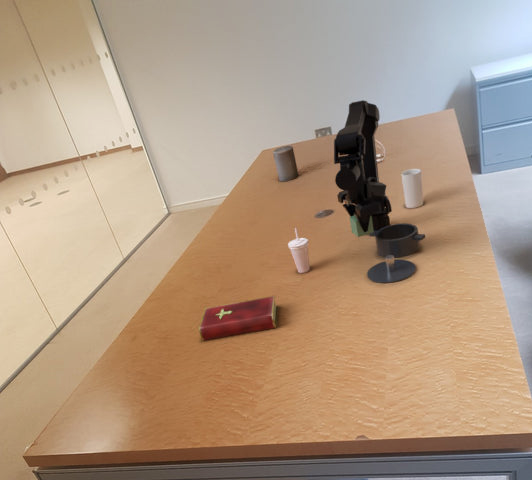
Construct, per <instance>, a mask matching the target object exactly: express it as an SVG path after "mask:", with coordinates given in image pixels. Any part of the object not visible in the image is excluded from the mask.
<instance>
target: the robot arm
mask: <svg viewBox="0 0 532 480" xmlns="http://www.w3.org/2000/svg"><path fill="white" fill-rule="evenodd" d="M380 117H381V116H380V110H379V107H378V106H377V105H376V104H374V103H370V102H369V101H367V100H357V101H352V102H350V103H349V104H348V113H347V118H346V121H345V124H344V127H343V128H341V129H340V130H339V131H338V132H337V134H336V135H335V138H334V141H333V163H334V165H336V164H337V165H338V164H339V170H338V172H337V173H336V175H335V178H334V183H335V185H336V187H337V188H338V189H340V191H338V193H337V196H336V197H337V202H338V203H339V204H342V207H343V209H344V210H345V211H346V212H347V214H348V215H349V217H351V216H354V215H355V217H356V218H357V220H358V222H359V224H360V226H361V228H362V229H363V231H364V232H367V231H368V227H369V221H370V216H372V223H373V230H375V231H378V230H380V229H381V228H384V227H386V226H389V225H391V220H390V216H389V214H390V213H392V212H393V209H392V204H391V201H390V198H389V197H388V195H387V194H386V190H387V184H385V183H383V182H381V181H380V178H379V177H380V176H379V169H378V163H377V160H378V158H377V157H376V155H377V150H376V148H377V146H375V145H376V137H375V136H376V133H377V130H378V128H379V121H380ZM343 203H344V204H343Z"/></svg>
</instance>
